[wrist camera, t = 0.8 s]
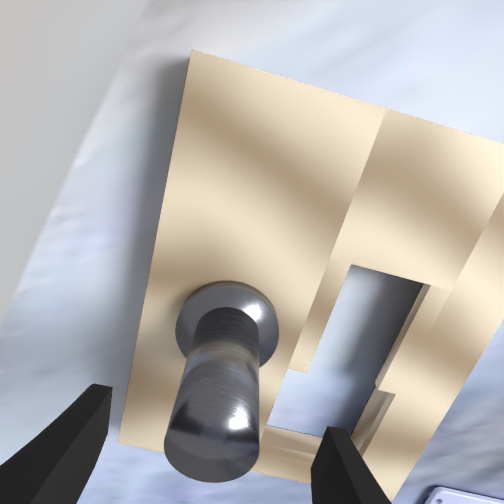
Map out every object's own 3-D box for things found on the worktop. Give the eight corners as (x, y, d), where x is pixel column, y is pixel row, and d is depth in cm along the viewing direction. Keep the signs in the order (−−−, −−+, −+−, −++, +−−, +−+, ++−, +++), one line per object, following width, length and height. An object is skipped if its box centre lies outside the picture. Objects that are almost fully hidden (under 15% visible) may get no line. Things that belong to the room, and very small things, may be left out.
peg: (262, 374, 20) (265, 513, 13) (170, 353, 20) (123, 485, 13) (291, 294, 19) (310, 407, 12) (190, 269, 18) (147, 370, 11)
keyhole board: (382, 471, 26) (392, 500, 24) (128, 416, 24) (117, 443, 22) (557, 164, 18) (594, 171, 16) (199, 55, 17) (191, 48, 15)
